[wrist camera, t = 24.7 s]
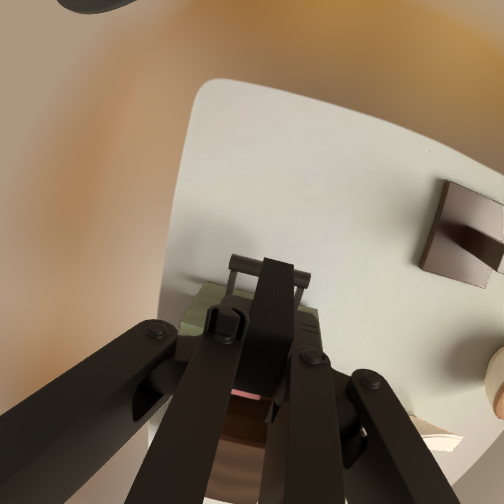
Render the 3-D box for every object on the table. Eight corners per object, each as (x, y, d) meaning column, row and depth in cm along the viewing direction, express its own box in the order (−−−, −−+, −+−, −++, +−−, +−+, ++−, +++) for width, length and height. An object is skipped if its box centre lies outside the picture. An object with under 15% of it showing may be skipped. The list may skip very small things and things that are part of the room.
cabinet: (187, 365, 39) (161, 422, 29) (289, 390, 39) (286, 453, 29) (178, 433, 44) (158, 483, 34) (261, 454, 44) (253, 507, 34)
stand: (445, 179, 29) (490, 191, 20) (507, 208, 28) (553, 226, 20) (417, 266, 32) (451, 302, 23) (480, 285, 32) (518, 319, 23)
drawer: (214, 232, 32) (188, 260, 24) (333, 262, 32) (346, 300, 24) (189, 378, 39) (168, 426, 31) (281, 402, 38) (277, 453, 30)
